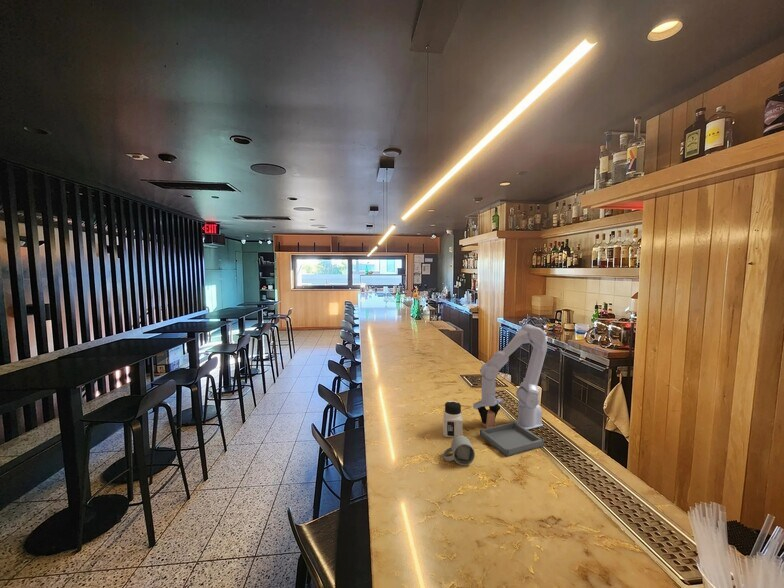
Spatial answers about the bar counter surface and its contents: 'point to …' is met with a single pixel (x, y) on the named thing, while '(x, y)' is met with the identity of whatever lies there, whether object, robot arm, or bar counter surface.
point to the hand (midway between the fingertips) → (488, 421)
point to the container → (452, 419)
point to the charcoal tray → (511, 438)
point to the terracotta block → (490, 419)
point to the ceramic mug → (460, 451)
